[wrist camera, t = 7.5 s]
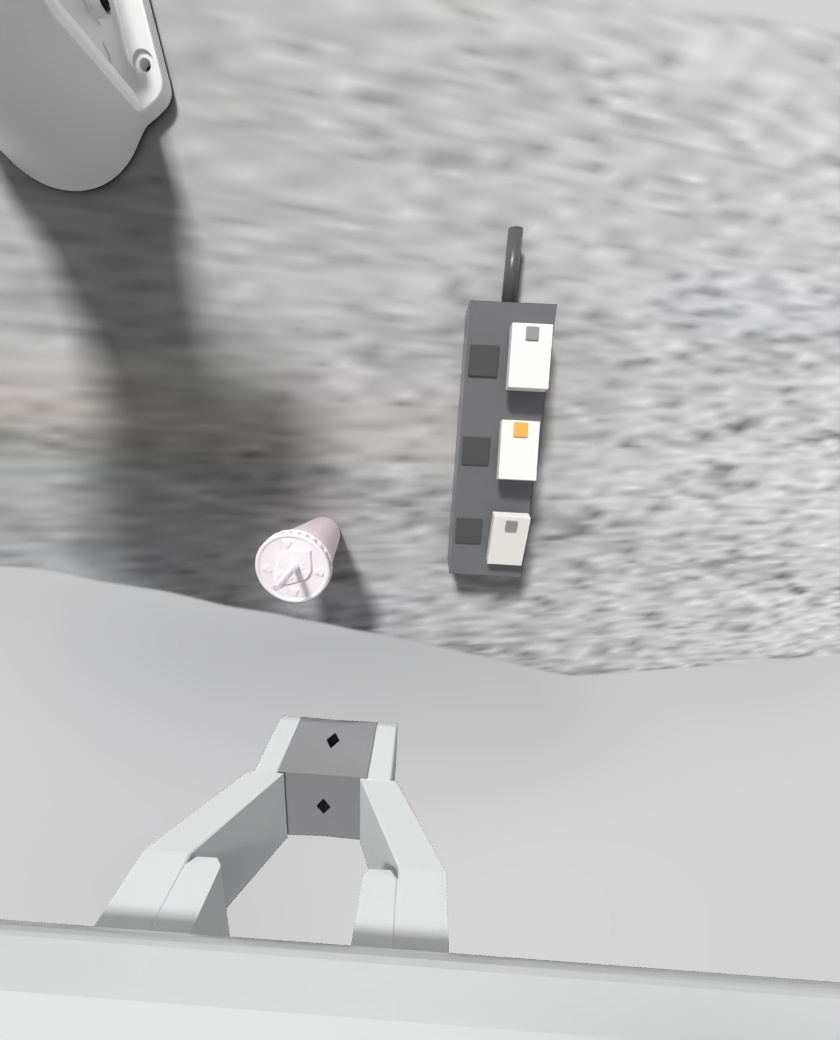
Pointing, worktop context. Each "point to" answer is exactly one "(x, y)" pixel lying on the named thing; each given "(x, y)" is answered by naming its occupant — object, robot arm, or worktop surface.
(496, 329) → the power strip
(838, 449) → the worktop surface
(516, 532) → the block
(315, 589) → the smoothie
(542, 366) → the plate
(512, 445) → the rocker
